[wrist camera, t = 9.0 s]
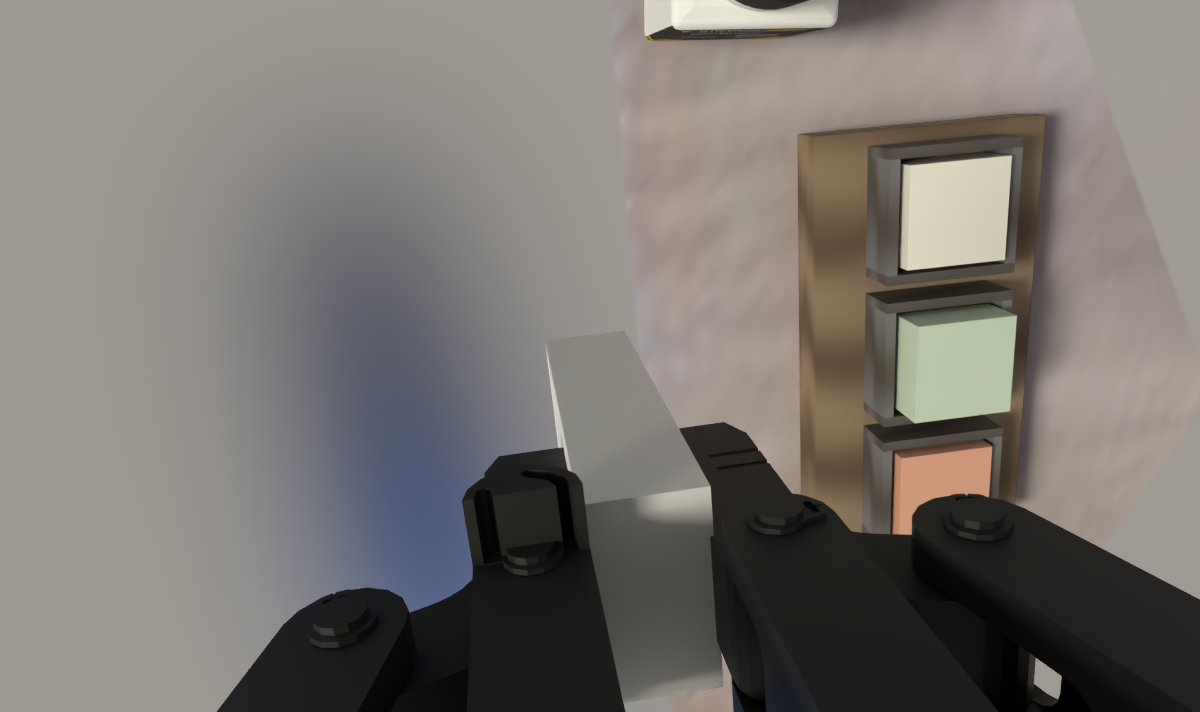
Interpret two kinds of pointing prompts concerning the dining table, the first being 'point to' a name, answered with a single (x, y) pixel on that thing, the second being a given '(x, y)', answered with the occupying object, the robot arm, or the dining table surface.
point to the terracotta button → (936, 477)
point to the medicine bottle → (736, 18)
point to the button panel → (896, 305)
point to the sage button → (954, 362)
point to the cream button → (953, 210)
